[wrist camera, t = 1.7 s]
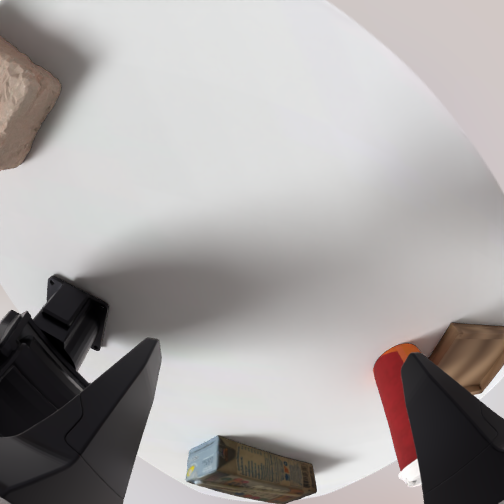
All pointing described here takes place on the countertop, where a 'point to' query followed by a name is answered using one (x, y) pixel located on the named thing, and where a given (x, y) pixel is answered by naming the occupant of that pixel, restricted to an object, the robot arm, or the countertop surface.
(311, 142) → the countertop surface
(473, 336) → the tray
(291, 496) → the beverage carton
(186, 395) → the countertop surface
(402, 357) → the paper cup
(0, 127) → the brick
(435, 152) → the countertop surface
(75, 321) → the robot arm
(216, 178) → the countertop surface
